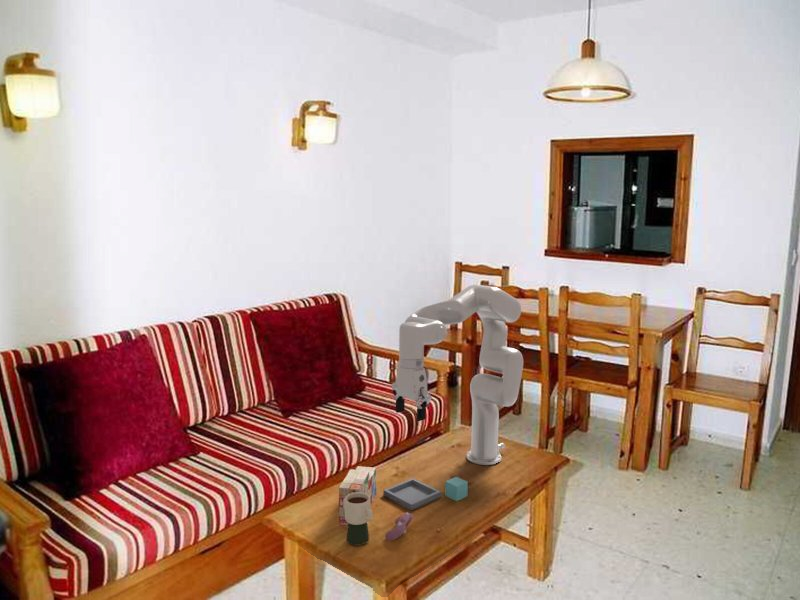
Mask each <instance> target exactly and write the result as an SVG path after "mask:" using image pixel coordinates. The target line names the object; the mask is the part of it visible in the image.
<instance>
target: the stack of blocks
mask: <svg viewBox="0 0 800 600" xmlns="http://www.w3.org/2000/svg"><path fill="white" fill-rule="evenodd" d="M356 492H361V493H366V494H368V495H369V496H370V503H371V504H372V503H374V501H375V498H376V495H377V468H376V467H374V466H373V467H370V466H361V465H360V466H359V465H358V466H356V468H355V469H349V471H347V474H346V476H345V478H344V479H343V481H342V482H341V483H340V485H339V487H338V513H339V514H338V526H339V525H342V526H341V527H348V524H349V523H348V522H346V520H345V509H344V508H343V500H344V498H345V497H346V496H347V495H348V494H351V493H356Z"/></svg>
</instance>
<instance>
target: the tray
mask: <svg viewBox="0 0 800 600" xmlns="http://www.w3.org/2000/svg"><path fill="white" fill-rule="evenodd" d="M382 492H383V495H382V496H383V497H384V498H386V499H388V500H390V501H392V502H394V503H395V504H398V505H399V506H401V507H404V508H405V509H407V510H409V511H411V512H412V511H414V510H416V509H419V508H421V507H423V506H425V505H428V504H431V503H432V502H435V501H436V500H438V499H440V498H442V491H441V490H440V489H437V488H434V487H432V486H431V485H428V484H426V483H424V482H422V481H420V480H418V479H417V478H414V477H411V478H409V479H407V480H405V481H403V482H399V483H397V484H395V485H393V486H390V487H387V488H386V489H383V491H382Z"/></svg>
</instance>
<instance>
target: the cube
mask: <svg viewBox="0 0 800 600" xmlns="http://www.w3.org/2000/svg"><path fill="white" fill-rule="evenodd" d="M468 484H469V481H467V480H464V479H462V478H460V477H458V476H454V477H452V478H450V479H448V480H446V481H445V489H444V490H445V493H444V495H445V497H448V498H450V499H451V500H454V501H455V502H458V501H460V500H463V499H464V498H467V497H468V493H469V491H468V490H469V489H468V488H469V487H468V486H469V485H468Z"/></svg>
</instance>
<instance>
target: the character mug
mask: <svg viewBox="0 0 800 600" xmlns="http://www.w3.org/2000/svg"><path fill="white" fill-rule="evenodd" d="M371 505H372V503H370V496H369V495H368V494H366V493H361V492H356V493H351V494H348V495H347V496H346V497H345V498H344V500H343V508H344V509H345V520H346V522H348V523H349V524H348V526H347V529H346V530H347V531H346V538H345V539H346V542H347V543H348V544H350V545H352V546H358V545H363V544H365V543H368V542H369V540H370V537H369V536H370V535H369V528H368V526H369V525H368V522H372V521H373V510H372V506H371Z"/></svg>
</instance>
